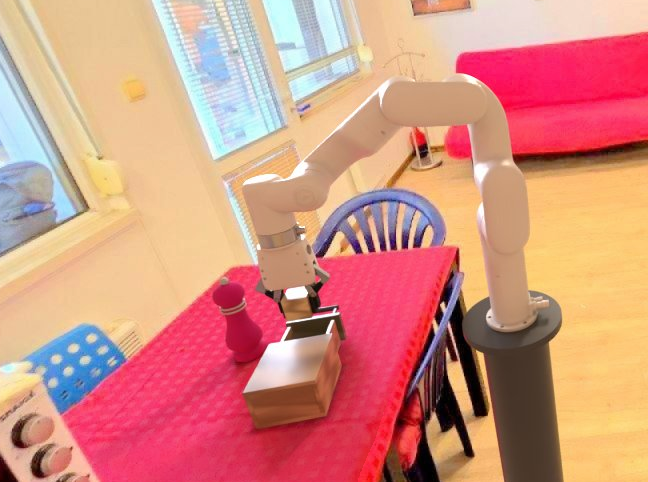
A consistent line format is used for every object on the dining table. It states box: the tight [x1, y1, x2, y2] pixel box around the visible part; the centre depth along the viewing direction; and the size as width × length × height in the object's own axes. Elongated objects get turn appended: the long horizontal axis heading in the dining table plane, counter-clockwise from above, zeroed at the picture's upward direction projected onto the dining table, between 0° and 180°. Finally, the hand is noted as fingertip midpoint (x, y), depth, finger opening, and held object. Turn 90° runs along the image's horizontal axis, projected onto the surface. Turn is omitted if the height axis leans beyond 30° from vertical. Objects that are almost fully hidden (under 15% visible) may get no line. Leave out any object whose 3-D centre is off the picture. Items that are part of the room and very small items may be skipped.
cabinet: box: [242, 333, 343, 430], centre depth 103 cm, size 15×13×9 cm
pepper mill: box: [211, 276, 266, 363], centre depth 116 cm, size 7×7×20 cm
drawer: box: [279, 304, 348, 351], centre depth 116 cm, size 21×11×7 cm, turn 11°
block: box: [281, 286, 314, 322], centre depth 110 cm, size 5×5×5 cm
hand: (302, 311), depth 111 cm, fingers closed on block, 5 cm apart
